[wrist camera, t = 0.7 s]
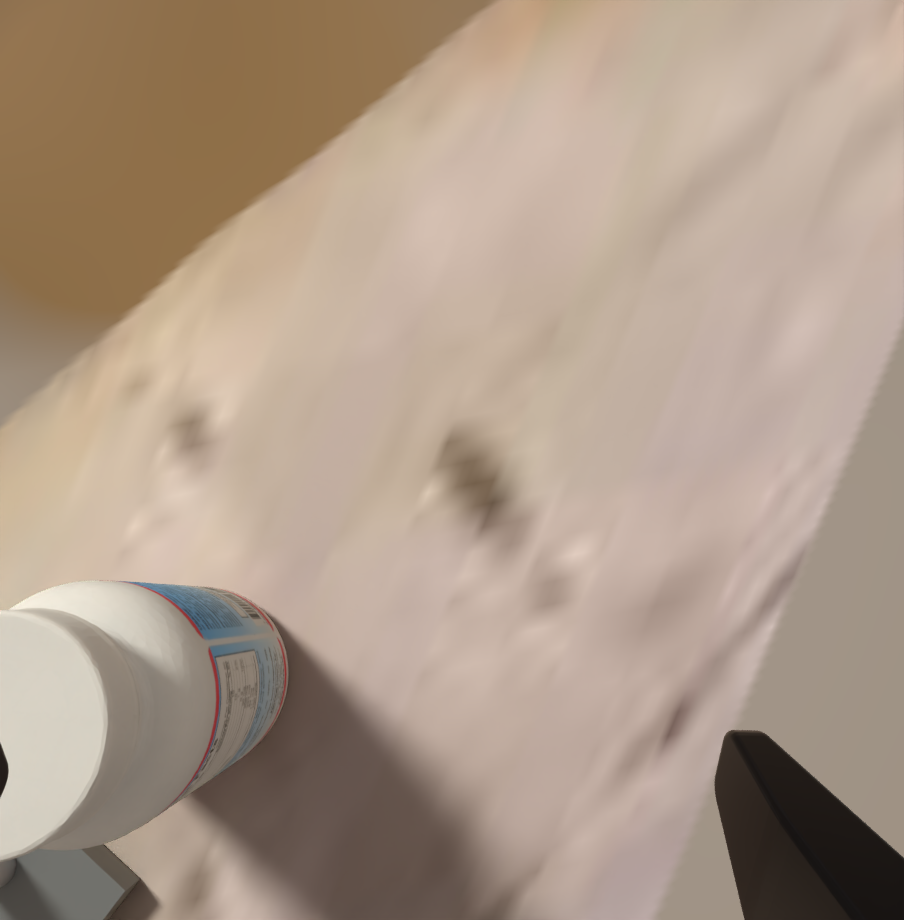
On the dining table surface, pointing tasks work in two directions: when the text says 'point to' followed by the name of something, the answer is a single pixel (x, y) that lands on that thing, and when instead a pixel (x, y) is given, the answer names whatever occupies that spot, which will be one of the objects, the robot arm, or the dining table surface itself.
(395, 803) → the dining table surface
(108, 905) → the pin tray
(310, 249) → the dining table surface
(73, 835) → the pill bottle
